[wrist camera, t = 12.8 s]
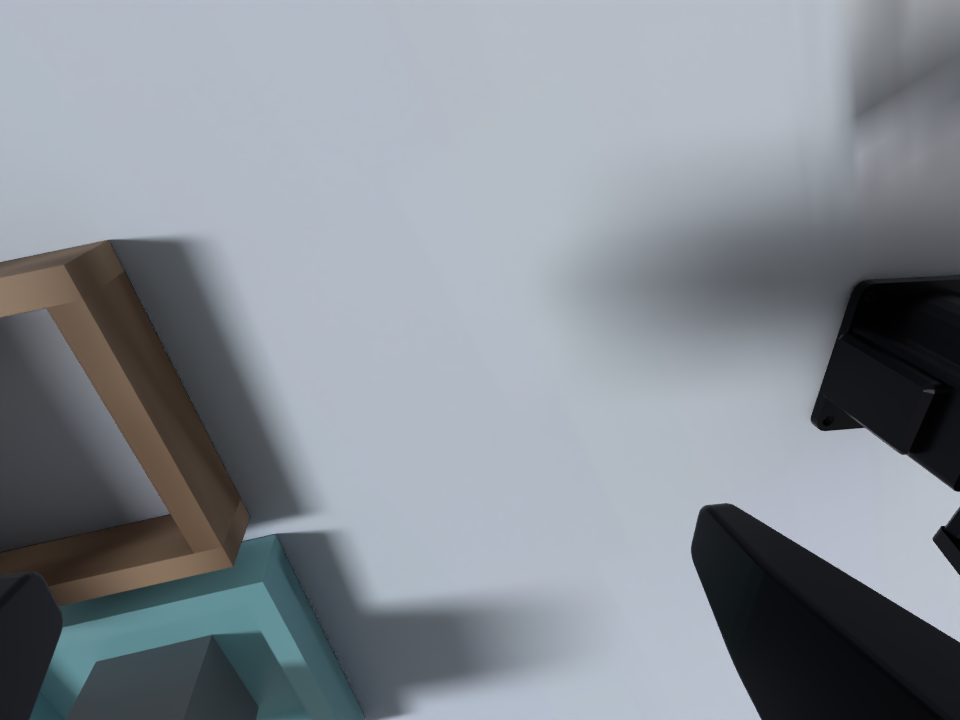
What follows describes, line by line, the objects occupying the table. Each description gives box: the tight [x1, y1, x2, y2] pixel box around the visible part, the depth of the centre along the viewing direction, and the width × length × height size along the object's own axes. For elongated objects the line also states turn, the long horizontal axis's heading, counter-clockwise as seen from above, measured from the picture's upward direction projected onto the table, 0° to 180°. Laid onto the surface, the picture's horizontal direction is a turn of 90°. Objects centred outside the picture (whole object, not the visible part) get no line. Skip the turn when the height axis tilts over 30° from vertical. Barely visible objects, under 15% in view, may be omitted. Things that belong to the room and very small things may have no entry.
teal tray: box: [30, 534, 365, 720], centre depth 24 cm, size 13×14×2 cm
